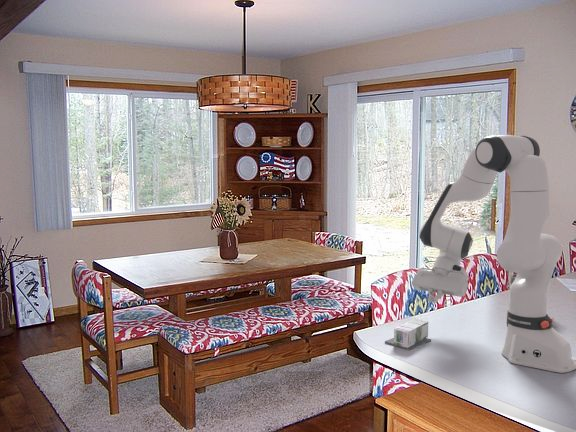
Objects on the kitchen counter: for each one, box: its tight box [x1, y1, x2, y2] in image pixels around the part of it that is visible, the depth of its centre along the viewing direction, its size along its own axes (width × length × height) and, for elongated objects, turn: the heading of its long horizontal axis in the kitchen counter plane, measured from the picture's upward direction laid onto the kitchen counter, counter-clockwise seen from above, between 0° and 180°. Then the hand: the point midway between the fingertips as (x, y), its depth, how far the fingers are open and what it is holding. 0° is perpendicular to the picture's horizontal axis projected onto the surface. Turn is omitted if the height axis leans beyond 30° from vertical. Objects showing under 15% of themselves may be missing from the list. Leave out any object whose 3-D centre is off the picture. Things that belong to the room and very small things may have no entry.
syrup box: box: [393, 318, 429, 348], centre depth 197 cm, size 6×6×14 cm
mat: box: [384, 337, 432, 351], centre depth 198 cm, size 10×13×1 cm
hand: (432, 301), depth 207 cm, fingers closed
